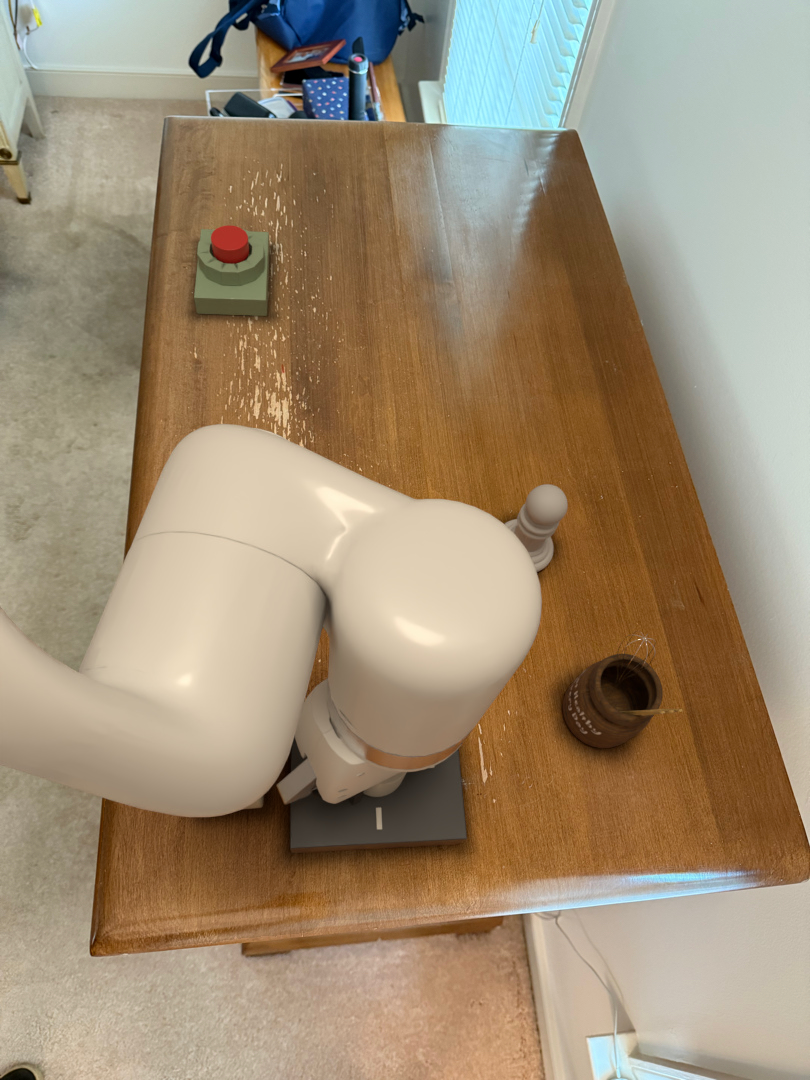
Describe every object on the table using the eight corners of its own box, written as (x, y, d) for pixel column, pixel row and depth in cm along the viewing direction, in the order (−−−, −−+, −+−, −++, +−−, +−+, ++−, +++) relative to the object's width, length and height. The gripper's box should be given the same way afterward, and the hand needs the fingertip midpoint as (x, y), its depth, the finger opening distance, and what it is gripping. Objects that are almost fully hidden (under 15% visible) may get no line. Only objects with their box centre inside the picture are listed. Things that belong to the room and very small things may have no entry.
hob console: (291, 853, 51) (289, 848, 49) (292, 712, 56) (291, 700, 53) (459, 844, 53) (467, 838, 50) (447, 707, 58) (454, 695, 55)
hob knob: (358, 805, 51) (363, 793, 46) (340, 749, 52) (343, 732, 48) (413, 785, 52) (421, 771, 47) (393, 731, 53) (400, 713, 49)
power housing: (196, 314, 74) (191, 283, 71) (203, 245, 79) (198, 213, 76) (267, 316, 75) (264, 285, 72) (269, 248, 80) (267, 217, 76)
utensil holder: (621, 673, 61) (685, 616, 50) (642, 750, 58) (715, 707, 47) (552, 680, 60) (603, 624, 49) (571, 759, 57) (629, 717, 46)
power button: (211, 263, 73) (209, 249, 71) (214, 238, 75) (211, 224, 73) (248, 265, 73) (247, 250, 72) (250, 240, 75) (248, 226, 74)
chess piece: (537, 516, 67) (566, 460, 59) (561, 567, 65) (595, 515, 57) (483, 530, 66) (506, 474, 58) (506, 582, 63) (533, 531, 56)
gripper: (510, 558, 39) (453, 669, 55) (210, 692, 34) (243, 772, 50) (588, 680, 37) (505, 760, 53) (274, 846, 31) (287, 879, 47)
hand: (377, 765), depth 51 cm, fingers closed on hob knob, 4 cm apart
